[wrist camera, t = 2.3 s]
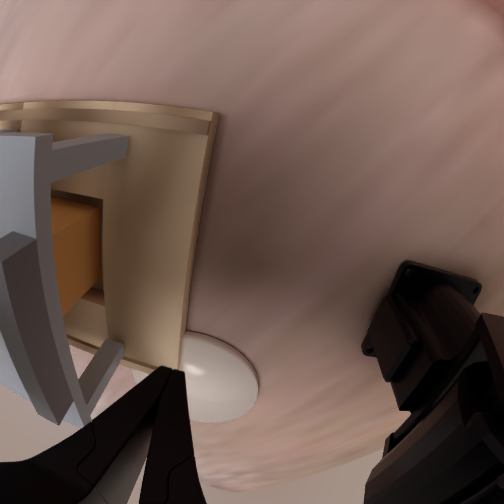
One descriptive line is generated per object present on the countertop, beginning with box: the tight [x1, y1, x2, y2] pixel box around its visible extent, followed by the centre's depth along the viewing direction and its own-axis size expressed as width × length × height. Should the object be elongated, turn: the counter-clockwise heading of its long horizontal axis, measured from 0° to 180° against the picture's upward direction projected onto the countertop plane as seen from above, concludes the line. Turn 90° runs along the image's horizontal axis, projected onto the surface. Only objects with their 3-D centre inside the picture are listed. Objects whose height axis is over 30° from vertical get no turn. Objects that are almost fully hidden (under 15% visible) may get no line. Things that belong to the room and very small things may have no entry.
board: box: [0, 101, 220, 374], centre depth 15 cm, size 27×16×2 cm, turn 78°
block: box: [51, 197, 100, 316], centre depth 13 cm, size 4×4×6 cm
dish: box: [132, 331, 258, 423], centre depth 19 cm, size 9×9×1 cm
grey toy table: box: [0, 129, 129, 429], centre depth 11 cm, size 9×14×8 cm, turn 168°
